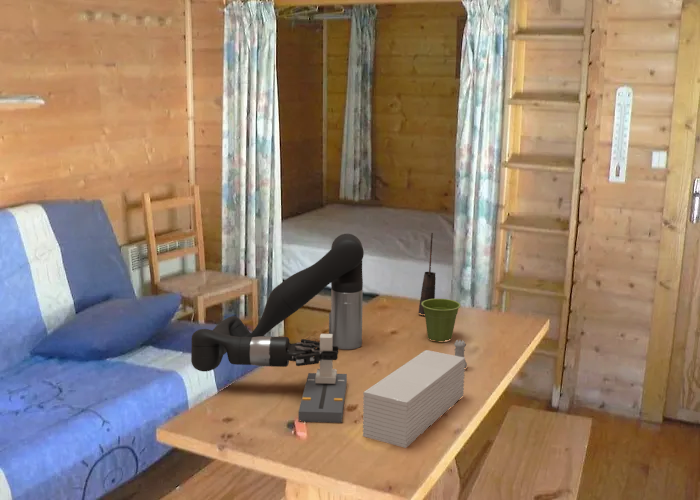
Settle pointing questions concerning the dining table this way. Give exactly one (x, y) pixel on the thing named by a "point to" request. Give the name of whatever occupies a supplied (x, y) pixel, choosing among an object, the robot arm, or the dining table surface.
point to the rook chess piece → (460, 349)
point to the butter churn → (428, 284)
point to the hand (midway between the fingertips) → (337, 353)
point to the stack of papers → (412, 397)
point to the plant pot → (440, 318)
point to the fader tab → (326, 362)
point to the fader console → (323, 400)
